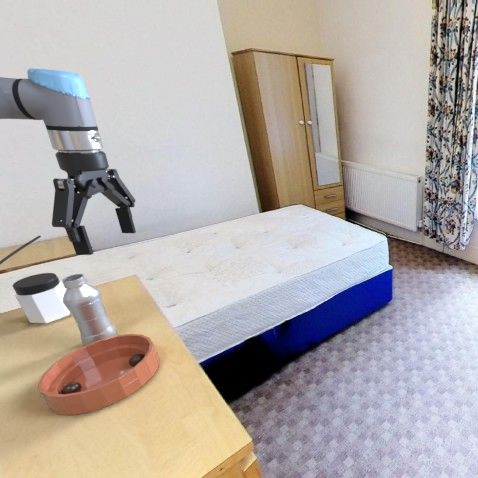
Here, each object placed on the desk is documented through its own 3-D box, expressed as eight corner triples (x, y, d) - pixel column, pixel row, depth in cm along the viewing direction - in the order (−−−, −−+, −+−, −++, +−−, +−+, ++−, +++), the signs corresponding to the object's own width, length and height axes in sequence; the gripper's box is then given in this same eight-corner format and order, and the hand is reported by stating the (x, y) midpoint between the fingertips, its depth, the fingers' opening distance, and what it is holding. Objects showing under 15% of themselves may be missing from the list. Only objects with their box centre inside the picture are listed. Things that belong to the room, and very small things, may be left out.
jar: (66, 319, 92) (48, 284, 87) (25, 328, 88) (4, 291, 83) (78, 303, 99) (62, 269, 94) (40, 310, 95) (21, 275, 90)
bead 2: (129, 365, 76) (125, 355, 75) (145, 358, 79) (141, 349, 77) (132, 371, 75) (128, 362, 74) (148, 364, 77) (144, 355, 76)
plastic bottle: (78, 350, 81) (44, 282, 73) (108, 332, 87) (79, 269, 79) (98, 355, 80) (65, 287, 72) (127, 337, 86) (99, 273, 78)
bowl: (47, 384, 72) (34, 364, 69) (148, 342, 85) (141, 324, 82) (56, 435, 61) (42, 413, 59) (170, 378, 74) (162, 358, 72)
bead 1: (63, 394, 69) (57, 384, 67) (82, 386, 71) (77, 376, 70) (65, 402, 67) (59, 392, 66) (85, 393, 69) (79, 383, 68)
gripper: (45, 159, 57) (83, 265, 65) (139, 146, 80) (159, 225, 88) (-5, 157, 56) (39, 265, 64) (105, 144, 79) (128, 225, 87)
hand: (109, 242), depth 76 cm, fingers open, 13 cm apart
